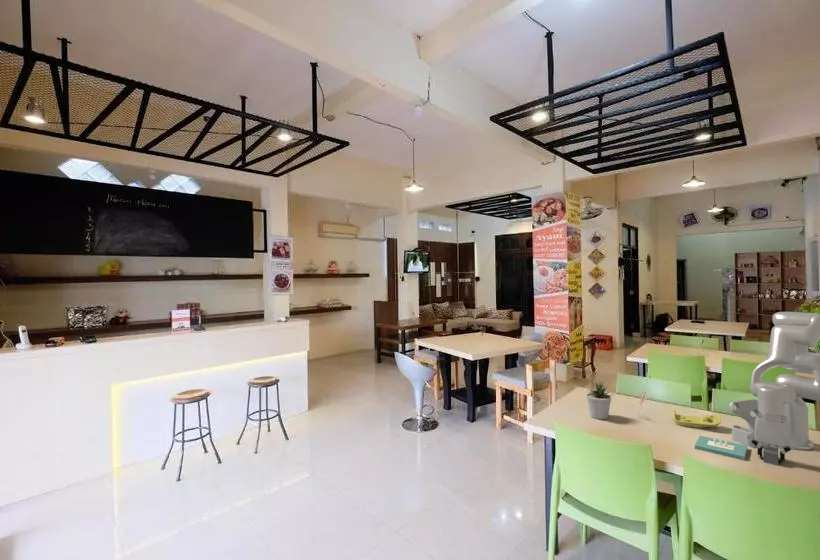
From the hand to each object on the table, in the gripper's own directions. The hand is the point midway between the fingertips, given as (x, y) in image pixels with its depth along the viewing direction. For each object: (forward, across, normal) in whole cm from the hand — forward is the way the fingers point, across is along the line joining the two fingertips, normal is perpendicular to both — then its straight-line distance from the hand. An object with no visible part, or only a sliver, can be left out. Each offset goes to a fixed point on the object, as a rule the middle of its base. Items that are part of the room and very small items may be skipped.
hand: (771, 458), depth 162 cm
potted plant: (+1, +70, -7) cm, 70 cm away
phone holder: (+1, +6, -20) cm, 20 cm away
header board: (+1, +16, 0) cm, 17 cm away
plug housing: (+1, 0, 0) cm, 1 cm away
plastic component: (+1, +29, -25) cm, 38 cm away
